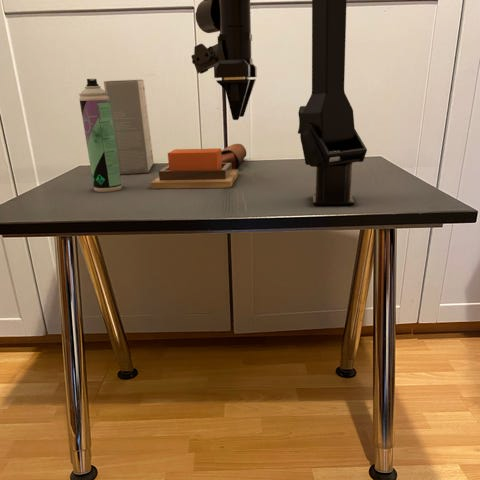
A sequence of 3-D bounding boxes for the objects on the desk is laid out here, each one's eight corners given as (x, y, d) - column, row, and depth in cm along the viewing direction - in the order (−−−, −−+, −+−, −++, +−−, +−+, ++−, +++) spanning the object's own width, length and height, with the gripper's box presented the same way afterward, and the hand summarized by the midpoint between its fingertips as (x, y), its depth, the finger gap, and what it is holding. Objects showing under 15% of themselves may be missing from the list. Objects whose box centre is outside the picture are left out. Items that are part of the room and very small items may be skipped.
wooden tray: (230, 187, 94) (229, 171, 93) (151, 188, 96) (149, 173, 95) (238, 175, 107) (238, 161, 105) (168, 176, 109) (167, 162, 107)
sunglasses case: (214, 157, 129) (226, 134, 126) (237, 171, 130) (249, 148, 127) (204, 169, 113) (217, 142, 110) (230, 184, 114) (244, 158, 111)
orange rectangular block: (217, 177, 98) (216, 152, 95) (170, 178, 99) (167, 153, 97) (222, 172, 103) (221, 148, 101) (176, 173, 104) (174, 149, 102)
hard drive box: (124, 165, 126) (113, 80, 118) (153, 163, 127) (144, 79, 118) (116, 174, 112) (102, 79, 104) (149, 173, 113) (138, 78, 104)
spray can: (109, 185, 101) (93, 78, 92) (127, 187, 98) (112, 77, 89) (88, 190, 97) (69, 79, 88) (106, 192, 94) (89, 78, 85)
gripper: (202, 34, 99) (207, 116, 106) (182, 25, 83) (189, 123, 90) (256, 31, 98) (257, 114, 105) (247, 22, 81) (249, 121, 88)
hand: (238, 118), depth 97 cm, fingers open, 9 cm apart
